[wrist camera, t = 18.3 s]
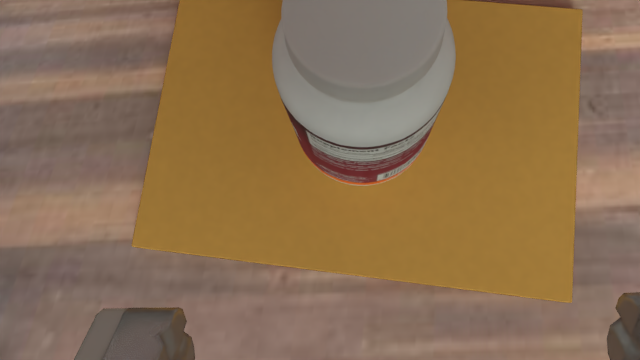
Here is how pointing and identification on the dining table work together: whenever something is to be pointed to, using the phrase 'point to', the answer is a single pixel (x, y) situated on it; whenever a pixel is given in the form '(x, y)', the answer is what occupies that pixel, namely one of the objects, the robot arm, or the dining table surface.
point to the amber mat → (384, 198)
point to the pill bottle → (363, 81)
